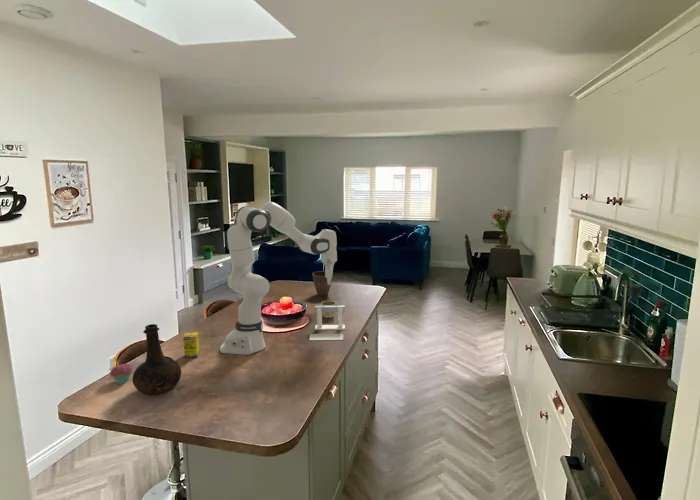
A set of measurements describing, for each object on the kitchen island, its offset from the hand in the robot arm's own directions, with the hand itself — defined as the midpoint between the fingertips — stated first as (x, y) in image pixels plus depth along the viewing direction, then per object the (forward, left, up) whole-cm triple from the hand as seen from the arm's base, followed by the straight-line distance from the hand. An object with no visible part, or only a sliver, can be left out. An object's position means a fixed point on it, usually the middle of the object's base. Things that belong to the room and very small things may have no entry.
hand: (329, 281), depth 234 cm
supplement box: (-67, -35, -28) cm, 80 cm away
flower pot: (-2, +20, -28) cm, 34 cm away
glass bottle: (-69, -68, -28) cm, 100 cm away
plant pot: (-8, +68, -28) cm, 74 cm away
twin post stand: (0, 0, -27) cm, 27 cm away
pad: (-2, -14, -27) cm, 31 cm away
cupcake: (-88, -60, -28) cm, 110 cm away
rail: (0, 0, -17) cm, 17 cm away
